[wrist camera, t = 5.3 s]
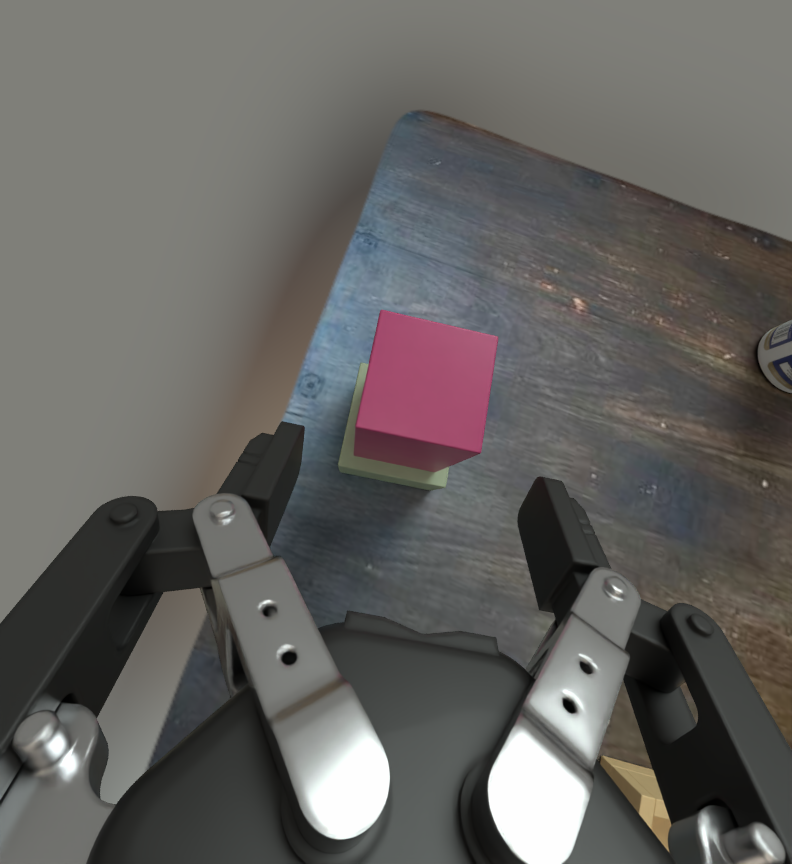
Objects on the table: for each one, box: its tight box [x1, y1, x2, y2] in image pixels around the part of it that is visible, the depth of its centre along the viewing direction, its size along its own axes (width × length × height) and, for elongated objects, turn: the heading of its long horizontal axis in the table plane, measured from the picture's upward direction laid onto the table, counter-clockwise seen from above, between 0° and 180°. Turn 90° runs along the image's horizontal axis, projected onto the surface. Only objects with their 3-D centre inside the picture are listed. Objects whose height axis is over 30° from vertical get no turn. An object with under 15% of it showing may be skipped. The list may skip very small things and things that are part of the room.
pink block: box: [354, 310, 498, 472], centre depth 19 cm, size 5×5×8 cm
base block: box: [338, 363, 449, 491], centre depth 25 cm, size 6×6×4 cm
